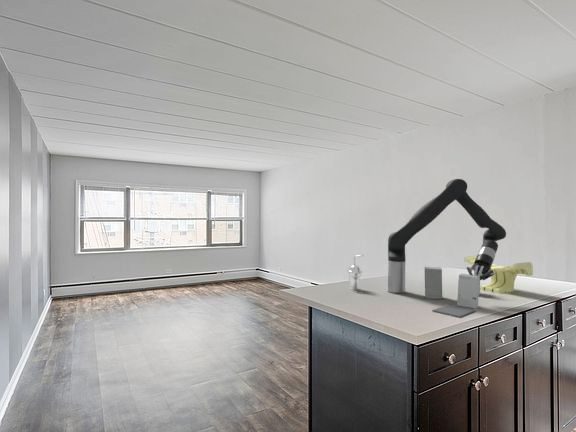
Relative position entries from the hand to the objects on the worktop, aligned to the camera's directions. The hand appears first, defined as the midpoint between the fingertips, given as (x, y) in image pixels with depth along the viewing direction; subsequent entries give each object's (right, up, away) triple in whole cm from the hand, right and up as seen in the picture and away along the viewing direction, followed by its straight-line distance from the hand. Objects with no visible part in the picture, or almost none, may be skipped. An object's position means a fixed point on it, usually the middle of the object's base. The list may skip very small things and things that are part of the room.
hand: (474, 284), depth 168 cm
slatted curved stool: (+30, -10, +32) cm, 46 cm away
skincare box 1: (-15, -9, +12) cm, 21 cm away
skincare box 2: (-5, -9, -4) cm, 12 cm away
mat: (-16, -9, -13) cm, 23 cm away
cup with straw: (-52, -9, +31) cm, 62 cm away
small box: (+11, -9, +22) cm, 27 cm away
